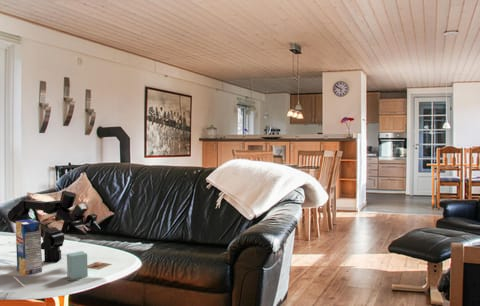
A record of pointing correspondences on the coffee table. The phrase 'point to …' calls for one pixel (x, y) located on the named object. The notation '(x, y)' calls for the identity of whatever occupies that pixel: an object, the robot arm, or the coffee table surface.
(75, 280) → the mat
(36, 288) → the coffee table surface
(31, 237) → the beverage box
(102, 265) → the coaster
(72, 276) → the pale teal block
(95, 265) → the peach flattened ellipsoid
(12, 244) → the coffee table surface
